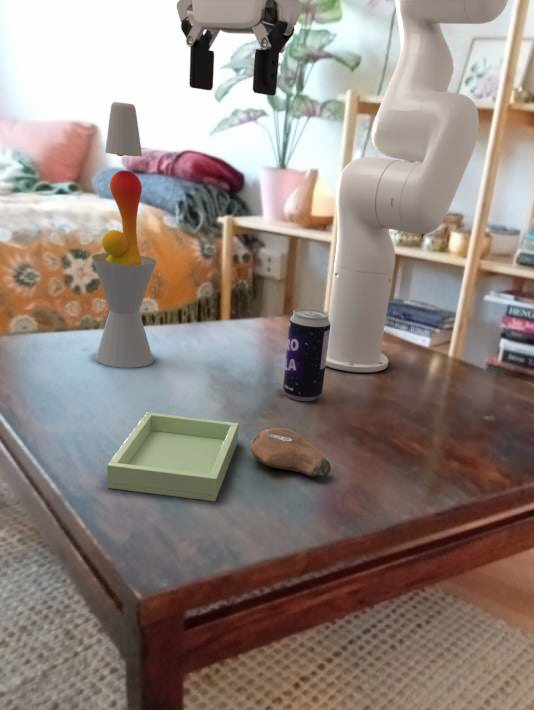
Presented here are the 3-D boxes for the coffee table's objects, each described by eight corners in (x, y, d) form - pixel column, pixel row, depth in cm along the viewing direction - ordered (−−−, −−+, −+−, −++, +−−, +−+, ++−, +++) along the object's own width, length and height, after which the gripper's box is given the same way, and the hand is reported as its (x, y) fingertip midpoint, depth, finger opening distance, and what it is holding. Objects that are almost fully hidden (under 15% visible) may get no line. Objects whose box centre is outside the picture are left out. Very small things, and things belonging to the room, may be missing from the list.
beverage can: (297, 386, 105) (306, 306, 100) (328, 396, 102) (339, 315, 97) (274, 394, 101) (282, 311, 95) (306, 405, 98) (316, 320, 93)
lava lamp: (132, 347, 114) (132, 104, 99) (166, 362, 109) (171, 108, 93) (82, 354, 108) (74, 97, 92) (115, 371, 103) (112, 101, 87)
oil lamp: (265, 493, 75) (333, 488, 78) (270, 462, 73) (340, 458, 76) (242, 449, 82) (305, 446, 85) (246, 419, 80) (311, 416, 83)
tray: (146, 432, 84) (146, 411, 83) (237, 443, 84) (238, 423, 83) (107, 488, 71) (107, 465, 70) (215, 501, 71) (216, 478, 70)
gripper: (331, -96, 70) (312, 100, 77) (207, -83, 79) (201, 90, 86) (283, -120, 64) (268, 92, 72) (156, -104, 73) (154, 83, 81)
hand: (231, 91), depth 79 cm, fingers open, 9 cm apart
